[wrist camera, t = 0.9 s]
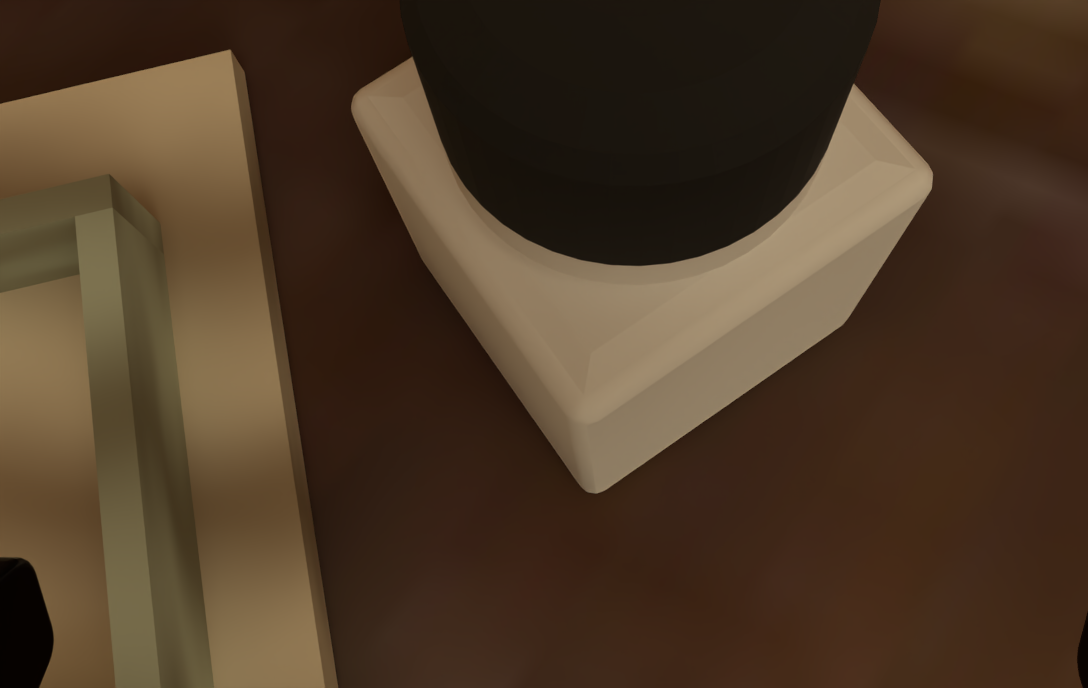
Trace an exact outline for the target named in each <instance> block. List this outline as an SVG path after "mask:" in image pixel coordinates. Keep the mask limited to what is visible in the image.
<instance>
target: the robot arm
mask: <svg viewBox="0 0 1088 688" xmlns="http://www.w3.org/2000/svg"><path fill="white" fill-rule="evenodd" d="M53 645H54V633H53V627H52V624H51V621H50V617H49V614H48V611H47V608H46V604H45V601H44V598H43V594H42V591H41V588H40V584H39V581H38V578H37V575H36V572H35V569H34V567H33V566H32V565H31V563H30V562H29V561H27V560H26V559H23V558H20V557H0V688H39V687H40V685H41V682H42V680H43V677H44V675H45V672H46V670H47V667H48V665H49V662H50V659H51V656H52V652H53ZM1077 663H1078V671H1079V677H1080V680H1081V684H1082V686H1083V688H1088V613H1087V616H1086V620H1085V624H1084V628H1083V631H1082V635H1081V639H1080V643H1079V647H1078V655H1077Z"/></svg>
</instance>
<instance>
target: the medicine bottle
mask: <svg viewBox="0 0 1088 688" xmlns="http://www.w3.org/2000/svg"><path fill="white" fill-rule="evenodd" d="M880 1H881V0H400V10H401V18H402V22H403V26H404V30H405V34H406V38H407V42H408V45H409V48H410V51H411V54H412V57H411V58H410V59H408V60H406V61H405V62H403V63H402V64H400V65H398V66H397V67H395V68H394V69H392V70H390V71H389V72H387V73H386V74H384V75H382V76H381V77H379V78H377V79H376V80H374V81H373V82H371V83H369V84H368V85H366V86H365V87H363V88H361V89H360V90H359V91H358V92H357V93H356V94H355V95H354V97H353V100H352V104H351V111H352V114H353V117H354V120H355V122H356V124H357V126H358V128H359V130H360V132H361V134H362V137H363V139H364V141H365V143H366V145H367V147H368V149H369V151H370V153H371V155H372V157H373V159H374V161H375V163H376V166H377V168H378V170H379V172H380V174H381V176H382V178H383V180H384V182H385V184H386V186H387V188H388V190H389V192H390V194H391V197H392V199H393V201H394V203H395V205H396V207H397V209H398V211H399V213H400V215H401V217H402V219H403V221H404V223H405V226H406V228H407V230H408V232H409V234H410V236H411V238H412V240H413V242H414V244H415V246H416V248H417V250H418V252H419V254H420V257H421V259H422V261H423V262H424V264H425V265H426V266H427V268H428V269H429V271H430V272H431V274H432V275H433V276H434V278H435V279H436V281H437V282H438V284H439V285H440V286H441V288H442V289H443V291H444V292H445V294H446V295H447V296H448V298H449V299H450V301H451V302H452V304H453V305H454V306H455V308H456V309H457V311H458V312H459V314H460V315H461V316H462V318H463V319H464V321H465V322H466V324H467V325H468V326H469V328H470V329H471V331H472V332H473V334H474V335H475V336H476V338H477V339H478V341H479V342H480V344H481V345H482V346H483V348H484V349H485V351H486V352H487V354H488V355H489V356H490V358H491V359H492V361H493V362H494V364H495V365H496V366H497V368H498V369H499V371H500V372H501V374H502V375H503V376H504V378H505V379H506V381H507V382H508V384H509V385H510V386H511V388H512V389H513V391H514V392H515V394H516V395H517V397H518V398H519V399H520V401H521V402H522V404H523V405H524V407H525V408H526V409H527V411H528V412H529V414H530V415H531V417H532V418H533V419H534V421H535V422H536V424H537V425H538V427H539V428H540V429H541V431H542V432H543V434H544V435H545V437H546V438H547V439H548V441H549V442H550V444H551V445H552V447H553V448H554V449H555V451H556V452H557V454H558V455H559V457H560V458H561V459H562V461H563V462H564V464H565V465H566V467H567V468H568V469H569V471H570V472H571V474H572V475H573V477H574V478H575V479H576V481H577V482H578V484H579V485H580V486H581V487H582V488H583V489H584V490H585V491H587V492H590V493H595V494H597V493H599V492H602V491H605V490H606V489H608V488H609V487H611V486H612V485H613V484H615V483H616V482H618V481H619V480H621V479H622V478H623V477H625V476H626V475H628V474H629V473H631V472H632V471H633V470H635V469H636V468H638V467H639V466H641V465H642V464H644V463H645V462H646V461H648V460H649V459H651V458H652V457H654V456H655V455H656V454H658V453H659V452H661V451H662V450H664V449H665V448H667V447H668V446H669V445H671V444H672V443H674V442H675V441H677V440H678V439H679V438H681V437H682V436H684V435H685V434H687V433H688V432H690V431H691V430H692V429H694V428H695V427H697V426H698V425H700V424H701V423H702V422H704V421H705V420H707V419H708V418H710V417H711V416H712V415H714V414H715V413H717V412H718V411H720V410H721V409H723V408H724V407H725V406H727V405H728V404H730V403H731V402H733V401H734V400H735V399H737V398H738V397H740V396H741V395H743V394H744V393H746V392H747V391H748V390H750V389H751V388H753V387H754V386H756V385H757V384H758V383H760V382H761V381H763V380H764V379H766V378H767V377H769V376H770V375H771V374H773V373H774V372H776V371H777V370H779V369H780V368H781V367H783V366H784V365H786V364H787V363H789V362H790V361H791V360H793V359H794V358H796V357H797V356H799V355H800V354H802V353H803V352H804V351H806V350H807V349H809V348H810V347H812V346H813V345H814V344H816V343H817V342H819V341H820V340H822V339H823V338H825V337H826V336H827V335H829V334H830V333H832V332H833V331H835V330H836V329H837V328H839V327H840V326H842V325H843V324H844V323H845V321H846V320H847V319H848V318H849V316H850V314H851V313H852V311H853V310H854V308H855V307H856V305H857V304H858V302H859V301H860V299H861V297H862V296H863V294H864V293H865V291H866V290H867V288H868V287H869V285H870V284H871V282H872V280H873V279H874V277H875V276H876V274H877V273H878V271H879V270H880V268H881V267H882V265H883V263H884V262H885V260H886V259H887V257H888V256H889V254H890V253H891V251H892V250H893V248H894V246H895V245H896V243H897V242H898V240H899V239H900V237H901V236H902V234H903V233H904V231H905V229H906V228H907V226H908V225H909V223H910V222H911V220H912V219H913V217H914V216H915V214H916V212H917V211H918V209H919V208H920V206H921V205H922V203H923V202H924V200H925V198H926V197H927V195H928V194H929V192H930V191H931V189H932V180H933V172H932V171H931V169H930V167H929V165H928V164H927V162H926V161H925V160H924V159H923V158H922V157H921V156H920V155H919V154H918V153H917V152H916V151H915V149H914V148H913V147H912V146H911V145H910V144H909V143H908V142H907V141H906V140H905V139H904V138H903V136H902V135H901V134H900V133H899V132H898V131H897V130H896V129H895V128H894V127H893V126H892V124H891V123H890V122H889V121H888V120H887V119H886V118H885V117H884V116H883V115H882V114H881V113H880V111H879V110H878V109H877V108H876V107H875V106H874V105H873V104H872V103H871V102H870V101H869V100H868V98H867V97H866V96H865V95H864V94H863V93H862V92H861V91H860V90H859V89H858V88H857V87H856V85H855V84H854V81H855V78H856V76H857V73H858V71H859V68H860V66H861V63H862V61H863V58H864V56H865V53H866V51H867V48H868V45H869V42H870V40H871V37H872V34H873V31H874V28H875V25H876V23H877V18H878V12H879V6H880Z"/></svg>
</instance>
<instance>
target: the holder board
mask: <svg viewBox="0 0 1088 688" xmlns="http://www.w3.org/2000/svg"><path fill="white" fill-rule="evenodd" d="M0 557H20V558H23V559H26V560H27V561H29V562H30V563H31V565H32V566H33V567H34V569H35V572H36V575H37V578H38V581H39V584H40V588H41V591H42V594H43V598H44V601H45V604H46V608H47V611H48V614H49V617H50V621H51V624H52V627H53V633H54V645H53V652H52V656H51V659H50V662H49V665H48V667H47V670H46V672H45V675H44V677H43V680H42V682H41V685H40V687H39V688H338V683H337V676H336V669H335V663H334V656H333V650H332V643H331V637H330V630H329V623H328V617H327V610H326V604H325V597H324V591H323V584H322V577H321V571H320V564H319V558H318V551H317V544H316V538H315V531H314V525H313V518H312V512H311V505H310V498H309V492H308V485H307V479H306V472H305V466H304V459H303V452H302V446H301V439H300V433H299V426H298V420H297V413H296V406H295V400H294V393H293V387H292V380H291V374H290V367H289V360H288V354H287V347H286V341H285V334H284V328H283V321H282V314H281V308H280V301H279V295H278V288H277V282H276V275H275V268H274V262H273V255H272V249H271V242H270V236H269V229H268V222H267V216H266V209H265V203H264V196H263V190H262V183H261V176H260V170H259V163H258V157H257V150H256V144H255V137H254V130H253V124H252V117H251V111H250V104H249V98H248V91H247V84H246V78H245V72H244V70H243V69H242V67H241V66H240V64H239V63H238V61H237V59H236V58H235V56H234V55H233V53H232V51H231V50H227V51H223V52H218V53H214V54H210V55H206V56H202V57H197V58H193V59H189V60H185V61H180V62H176V63H172V64H168V65H163V66H159V67H155V68H151V69H146V70H142V71H138V72H134V73H129V74H125V75H121V76H117V77H113V78H108V79H104V80H100V81H96V82H91V83H87V84H83V85H79V86H74V87H70V88H66V89H62V90H57V91H53V92H49V93H45V94H41V95H36V96H32V97H28V98H24V99H19V100H15V101H11V102H7V103H2V104H0Z"/></svg>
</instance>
